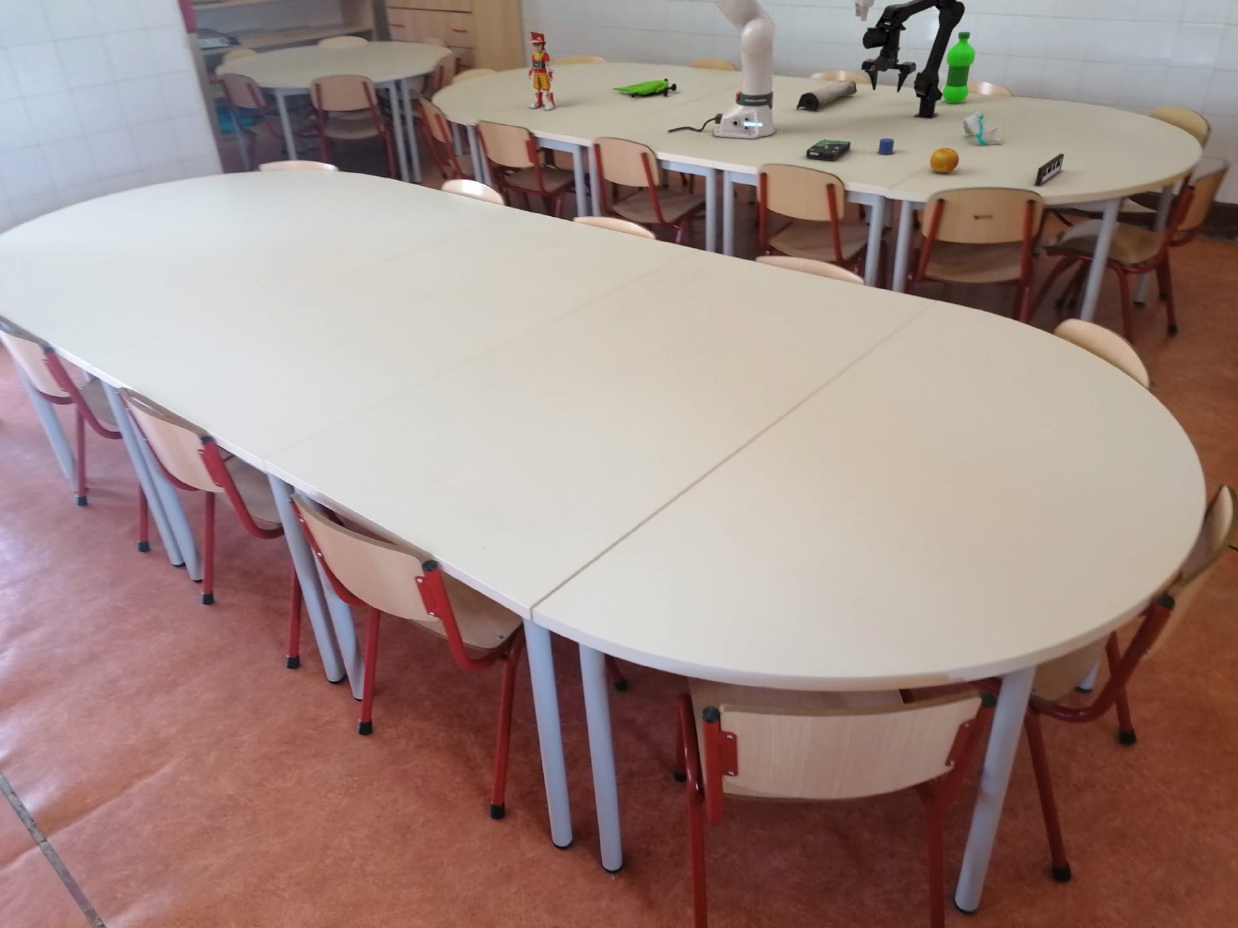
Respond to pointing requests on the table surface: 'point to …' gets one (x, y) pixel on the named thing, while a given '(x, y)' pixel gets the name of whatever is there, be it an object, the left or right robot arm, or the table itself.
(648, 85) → the toy
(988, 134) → the anatomical model
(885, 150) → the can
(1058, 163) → the midi keyboard
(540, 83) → the toy
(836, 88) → the rolled mat
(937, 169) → the fruit
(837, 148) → the disk drive
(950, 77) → the plastic bottle
